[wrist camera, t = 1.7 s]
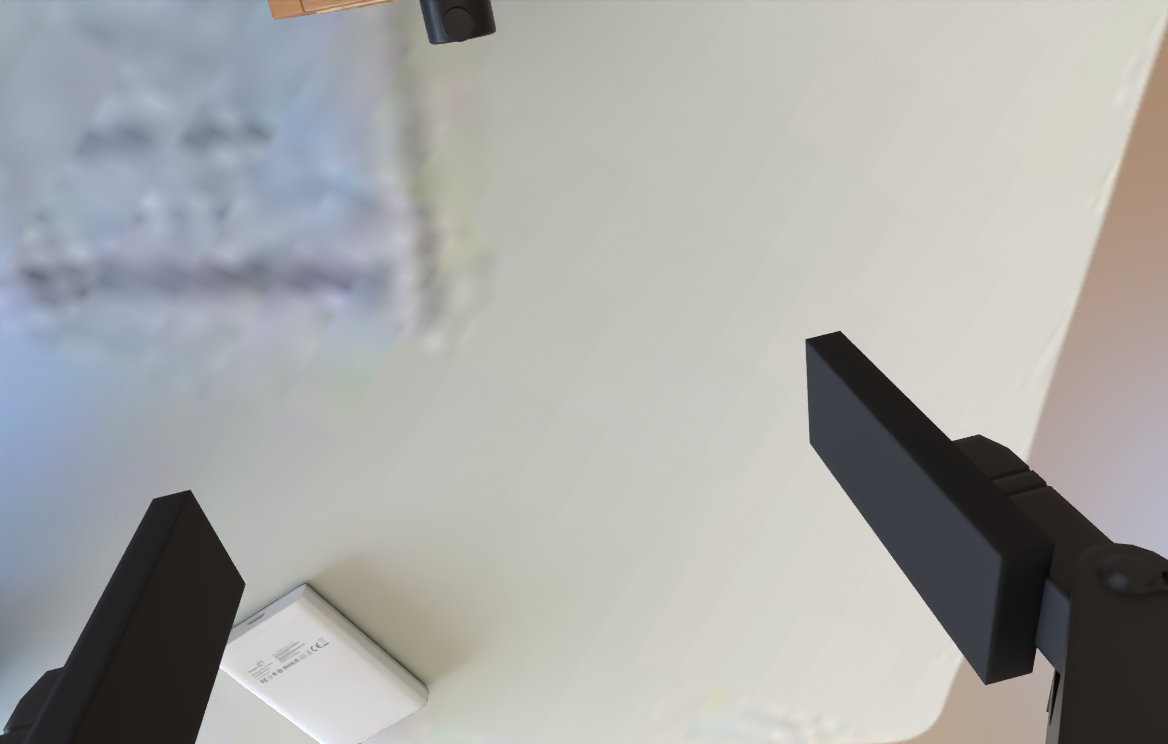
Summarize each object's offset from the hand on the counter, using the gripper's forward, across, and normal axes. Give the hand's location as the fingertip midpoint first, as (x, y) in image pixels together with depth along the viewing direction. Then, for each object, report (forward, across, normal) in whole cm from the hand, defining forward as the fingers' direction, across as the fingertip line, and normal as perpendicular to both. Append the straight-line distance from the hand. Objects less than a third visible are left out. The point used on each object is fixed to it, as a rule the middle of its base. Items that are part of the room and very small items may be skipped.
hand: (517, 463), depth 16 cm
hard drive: (+25, -19, -30) cm, 43 cm away
